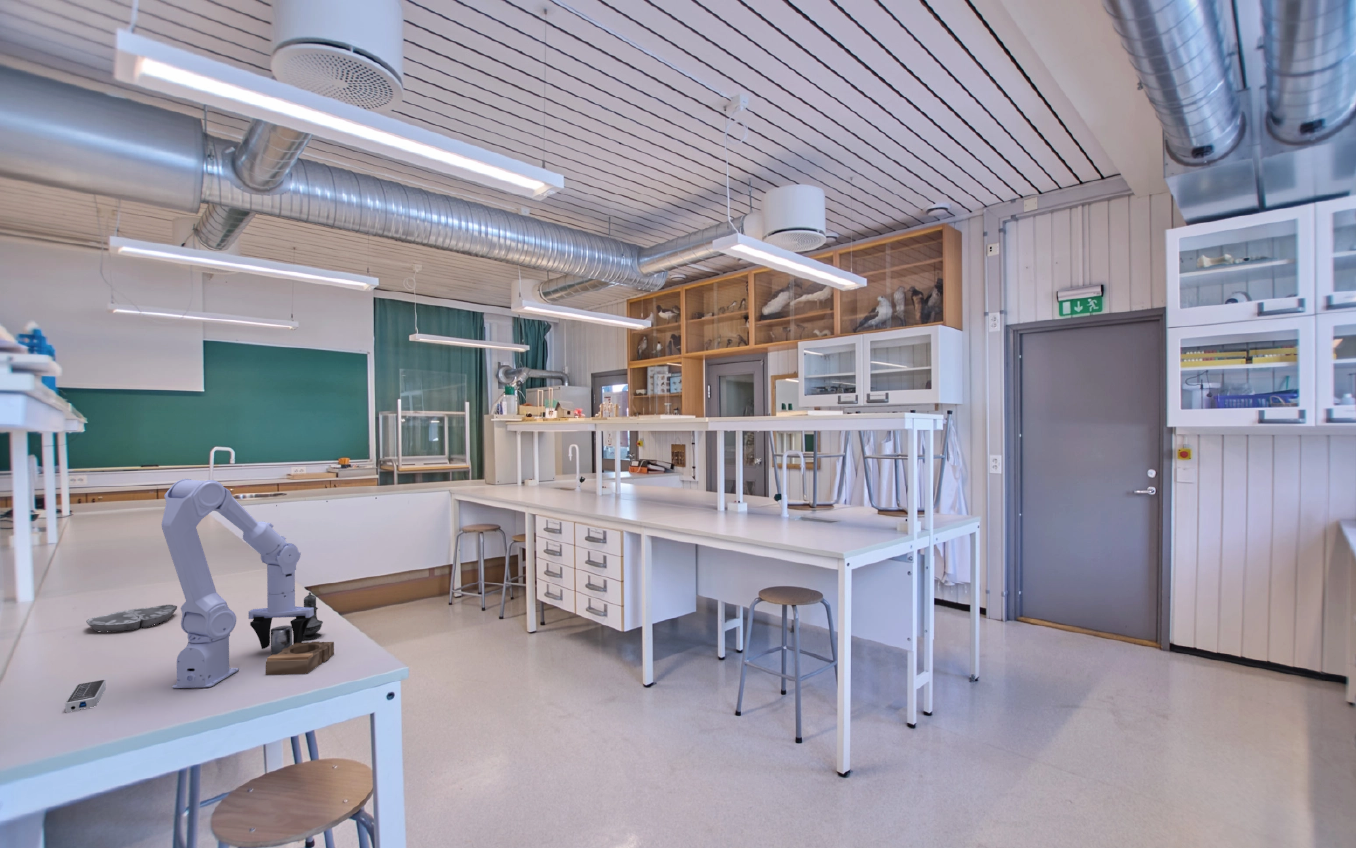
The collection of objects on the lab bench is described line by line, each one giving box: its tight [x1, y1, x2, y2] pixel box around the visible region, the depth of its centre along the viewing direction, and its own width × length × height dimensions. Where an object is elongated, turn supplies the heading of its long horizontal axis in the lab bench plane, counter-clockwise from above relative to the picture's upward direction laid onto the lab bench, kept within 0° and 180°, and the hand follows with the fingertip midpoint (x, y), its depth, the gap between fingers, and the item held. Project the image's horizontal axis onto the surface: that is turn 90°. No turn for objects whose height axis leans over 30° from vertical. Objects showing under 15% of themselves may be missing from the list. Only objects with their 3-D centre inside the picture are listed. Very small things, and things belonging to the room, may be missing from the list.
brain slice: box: [86, 604, 178, 633], centre depth 176 cm, size 20×17×3 cm
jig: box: [265, 640, 335, 676], centre depth 145 cm, size 12×10×4 cm
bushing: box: [270, 624, 293, 656], centre depth 153 cm, size 4×4×6 cm
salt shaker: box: [302, 591, 324, 642], centre depth 164 cm, size 6×6×12 cm
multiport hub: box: [64, 679, 107, 713], centre depth 127 cm, size 4×11×2 cm, turn 35°
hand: (281, 647), depth 153 cm, fingers open, 7 cm apart
